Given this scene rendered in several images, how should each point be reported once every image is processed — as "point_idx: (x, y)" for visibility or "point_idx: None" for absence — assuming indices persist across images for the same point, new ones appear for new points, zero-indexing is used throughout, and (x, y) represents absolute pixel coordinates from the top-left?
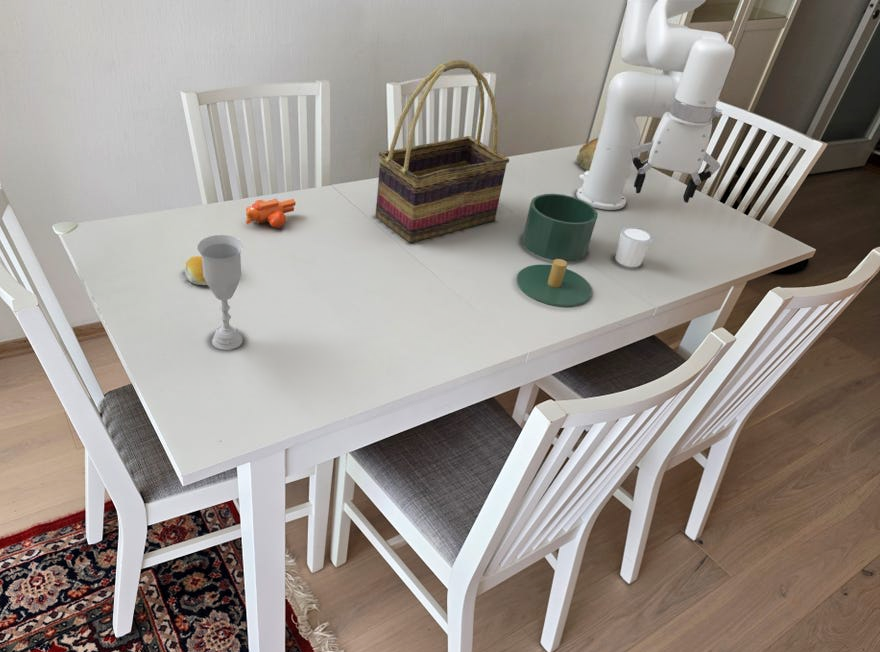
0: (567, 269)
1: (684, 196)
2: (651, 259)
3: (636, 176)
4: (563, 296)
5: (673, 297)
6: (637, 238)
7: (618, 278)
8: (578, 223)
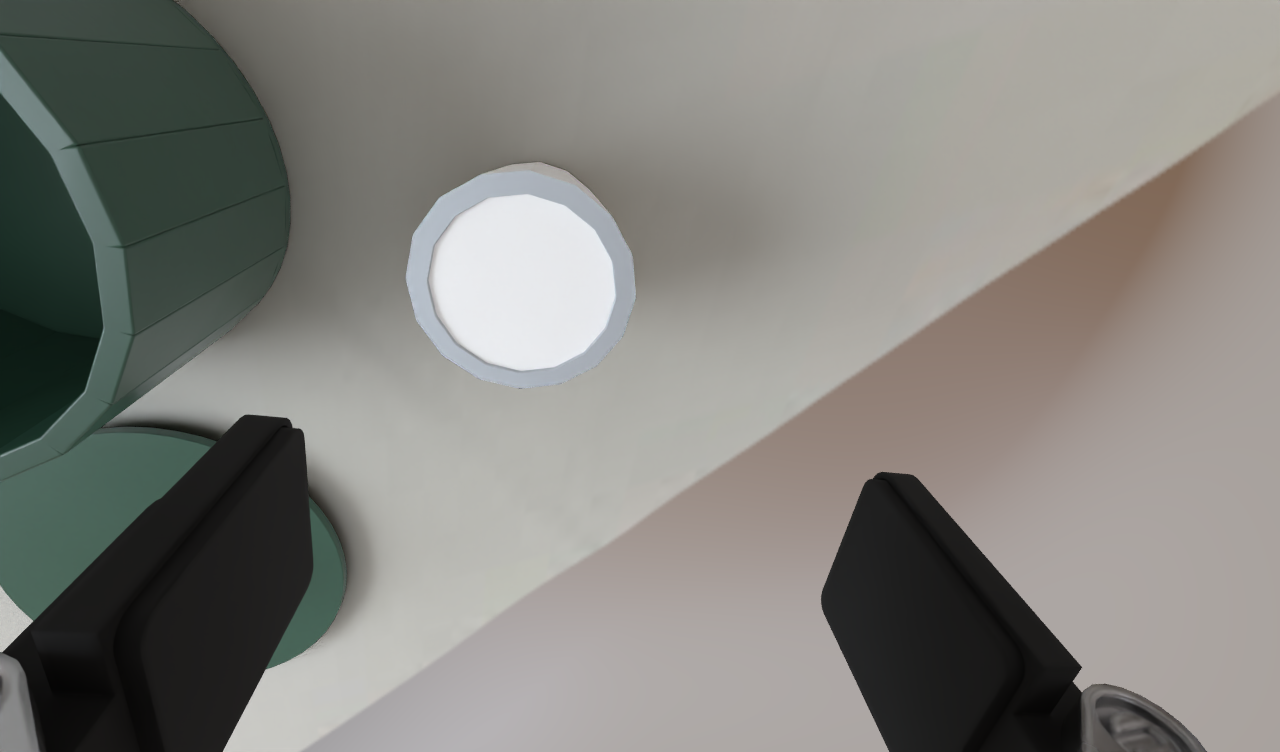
0: (205, 448)
1: (857, 554)
2: (686, 155)
3: (76, 579)
4: None
5: (701, 477)
6: (520, 343)
7: (476, 402)
8: (10, 467)
